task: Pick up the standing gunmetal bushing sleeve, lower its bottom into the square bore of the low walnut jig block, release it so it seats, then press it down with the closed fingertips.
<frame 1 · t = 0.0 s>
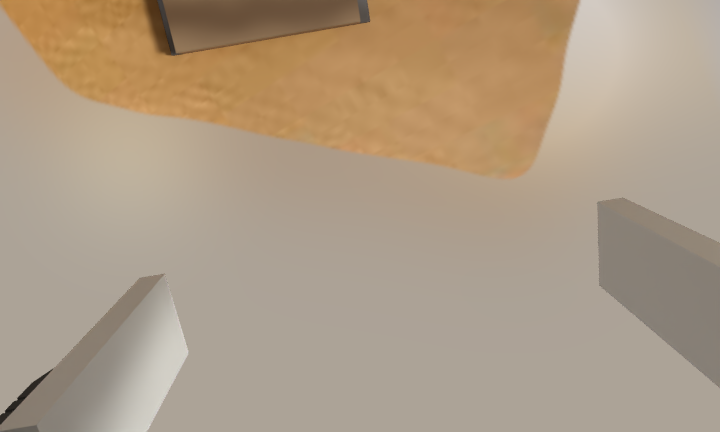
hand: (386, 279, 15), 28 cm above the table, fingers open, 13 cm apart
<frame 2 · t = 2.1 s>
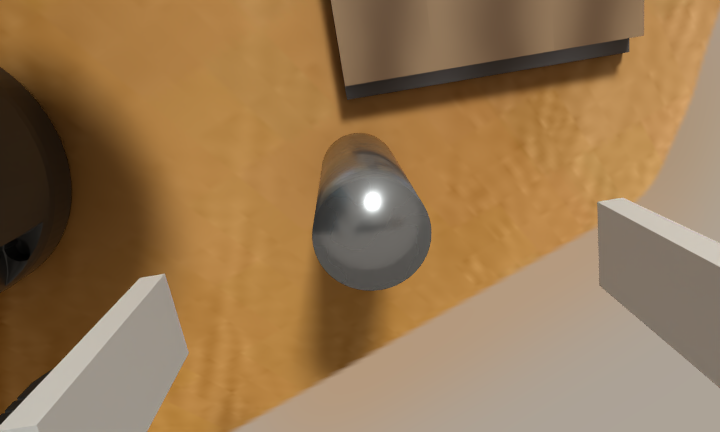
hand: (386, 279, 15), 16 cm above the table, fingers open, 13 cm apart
bushing: (358, 169, 30), on the table
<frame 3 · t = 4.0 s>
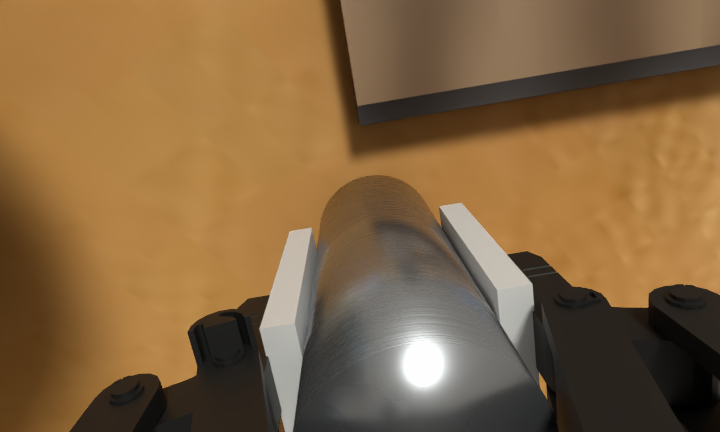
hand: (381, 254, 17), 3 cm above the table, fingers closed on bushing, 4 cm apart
bushing: (376, 230, 20), on the table, touching gripper
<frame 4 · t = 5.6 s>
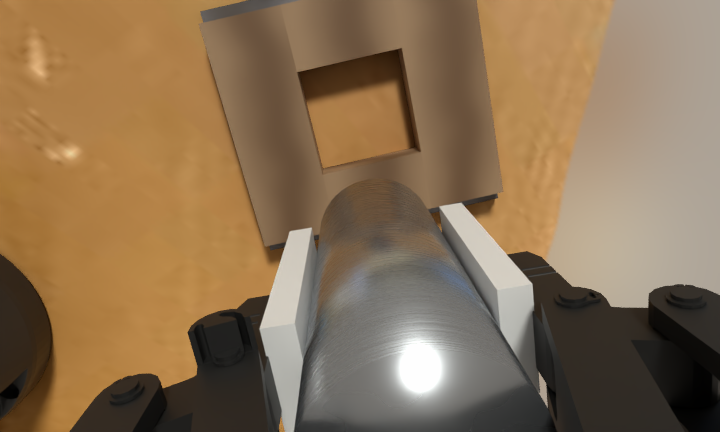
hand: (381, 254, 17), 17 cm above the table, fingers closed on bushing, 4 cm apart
bushing: (376, 233, 20), point 15 cm above the table, touching gripper
jig: (359, 110, 33), on the table
when the fingers open (4 cm above the table, at t = 7.6 s): bushing drops 1 cm, resting in jig.
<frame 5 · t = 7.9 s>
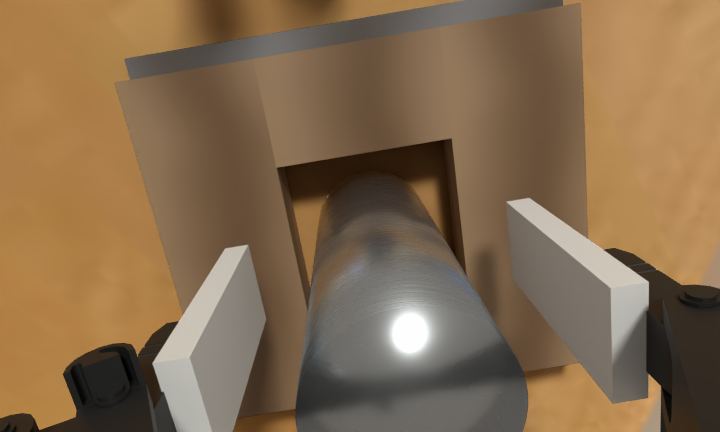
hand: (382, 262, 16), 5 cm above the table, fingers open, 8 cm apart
bushing: (372, 222, 21), resting in jig
jig: (374, 220, 21), on the table
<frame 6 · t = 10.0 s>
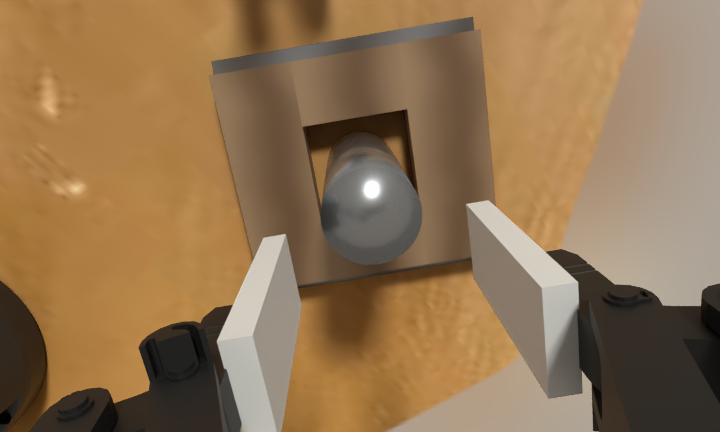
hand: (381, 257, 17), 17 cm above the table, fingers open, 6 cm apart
bushing: (360, 164, 33), resting in jig
jig: (361, 163, 33), on the table
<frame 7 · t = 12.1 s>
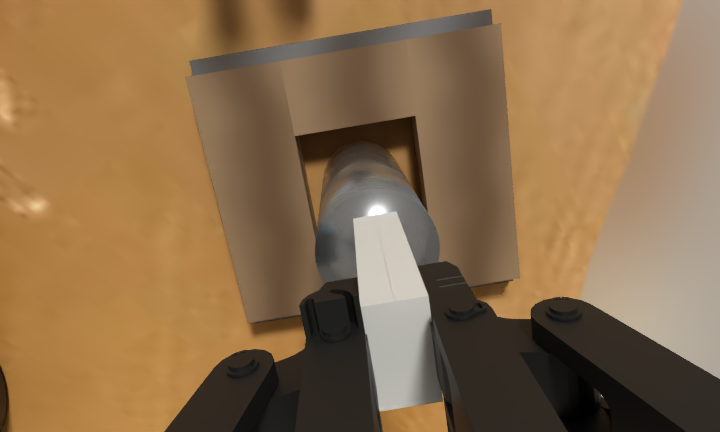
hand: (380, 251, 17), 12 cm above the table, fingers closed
bushing: (361, 178, 29), resting in jig, touching gripper
jig: (363, 176, 29), on the table
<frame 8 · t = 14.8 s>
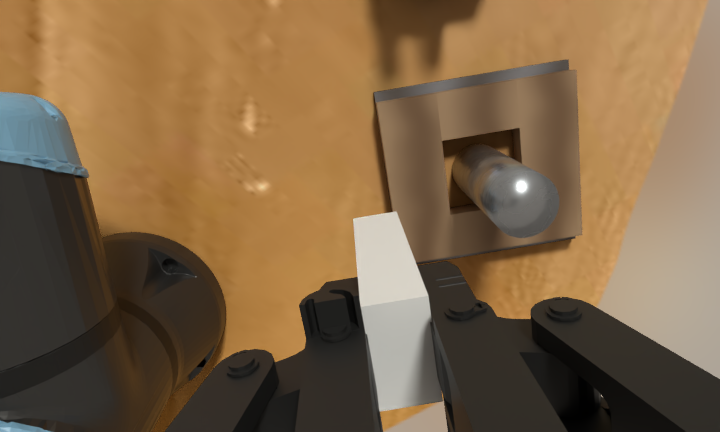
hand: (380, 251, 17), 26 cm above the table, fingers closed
bushing: (477, 168, 44), resting in jig
jig: (477, 167, 44), on the table
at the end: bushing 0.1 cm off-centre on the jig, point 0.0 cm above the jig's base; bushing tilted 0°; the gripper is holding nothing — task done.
